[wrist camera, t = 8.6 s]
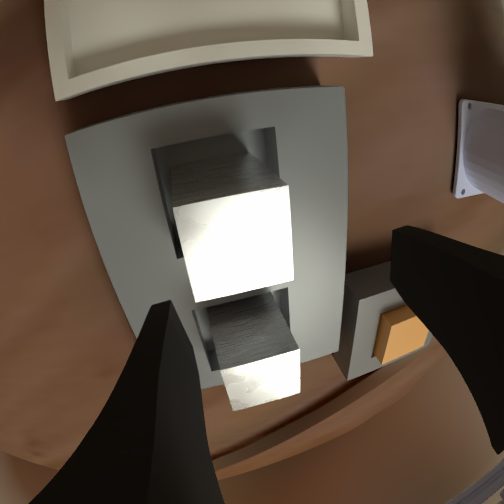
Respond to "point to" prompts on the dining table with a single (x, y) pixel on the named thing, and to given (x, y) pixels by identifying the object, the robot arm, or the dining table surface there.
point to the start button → (398, 334)
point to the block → (255, 350)
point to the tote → (191, 36)
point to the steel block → (232, 224)
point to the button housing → (365, 318)
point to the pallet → (209, 146)
